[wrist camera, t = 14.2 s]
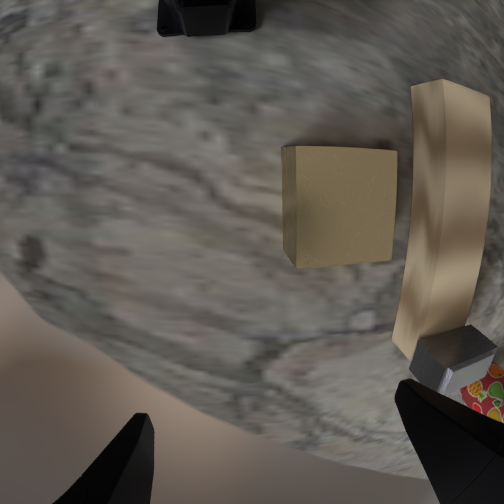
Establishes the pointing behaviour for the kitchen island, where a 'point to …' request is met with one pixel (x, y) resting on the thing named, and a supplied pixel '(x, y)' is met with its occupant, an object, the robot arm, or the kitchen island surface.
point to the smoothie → (487, 394)
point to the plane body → (445, 210)
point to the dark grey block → (452, 359)
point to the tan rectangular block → (338, 205)
